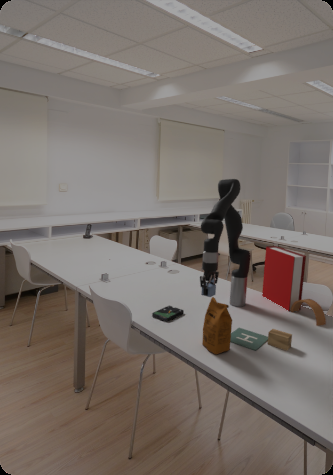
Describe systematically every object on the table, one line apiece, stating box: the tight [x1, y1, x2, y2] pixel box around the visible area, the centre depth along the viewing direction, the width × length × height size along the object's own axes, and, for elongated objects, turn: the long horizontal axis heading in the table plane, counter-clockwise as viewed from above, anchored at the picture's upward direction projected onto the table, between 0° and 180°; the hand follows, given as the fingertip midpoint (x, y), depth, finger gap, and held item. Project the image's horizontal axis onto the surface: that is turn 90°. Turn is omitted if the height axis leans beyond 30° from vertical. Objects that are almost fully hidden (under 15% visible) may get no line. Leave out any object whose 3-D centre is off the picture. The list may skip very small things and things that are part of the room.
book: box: [261, 245, 307, 312], centre depth 212 cm, size 27×8×32 cm, turn 20°
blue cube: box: [201, 283, 217, 298], centre depth 174 cm, size 5×5×5 cm
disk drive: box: [151, 305, 184, 323], centre depth 190 cm, size 10×3×15 cm
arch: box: [289, 298, 327, 327], centre depth 192 cm, size 6×20×10 cm, turn 22°
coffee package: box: [201, 296, 233, 355], centre depth 155 cm, size 10×12×22 cm
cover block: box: [267, 328, 293, 352], centre depth 160 cm, size 5×9×6 cm, turn 52°
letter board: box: [230, 327, 268, 352], centre depth 166 cm, size 16×16×1 cm
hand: (208, 293), depth 174 cm, fingers closed on blue cube, 5 cm apart
